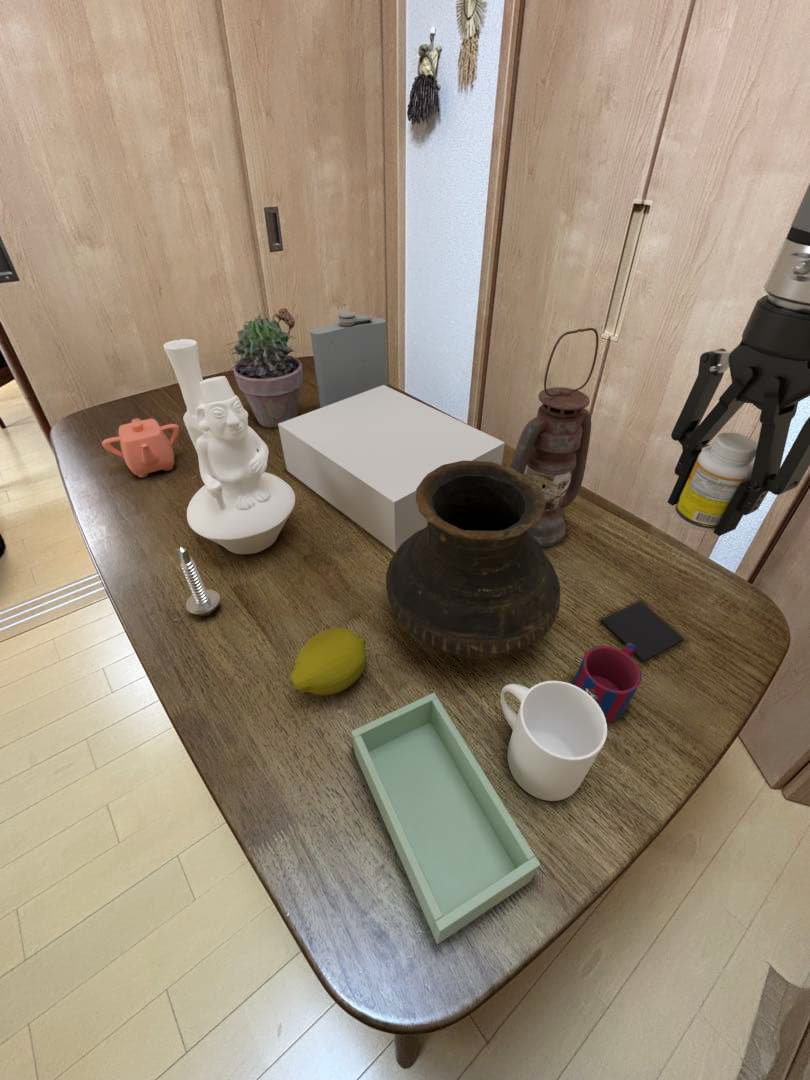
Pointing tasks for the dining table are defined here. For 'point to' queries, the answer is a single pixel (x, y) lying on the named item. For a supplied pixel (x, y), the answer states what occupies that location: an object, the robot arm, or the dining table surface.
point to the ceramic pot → (475, 563)
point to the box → (379, 457)
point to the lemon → (329, 662)
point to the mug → (553, 737)
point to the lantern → (556, 450)
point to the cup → (609, 678)
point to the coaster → (642, 630)
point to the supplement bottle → (716, 480)
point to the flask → (349, 357)
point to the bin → (442, 815)
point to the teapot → (144, 446)
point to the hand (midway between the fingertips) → (700, 514)
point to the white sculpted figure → (228, 462)
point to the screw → (197, 588)
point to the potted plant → (268, 370)
